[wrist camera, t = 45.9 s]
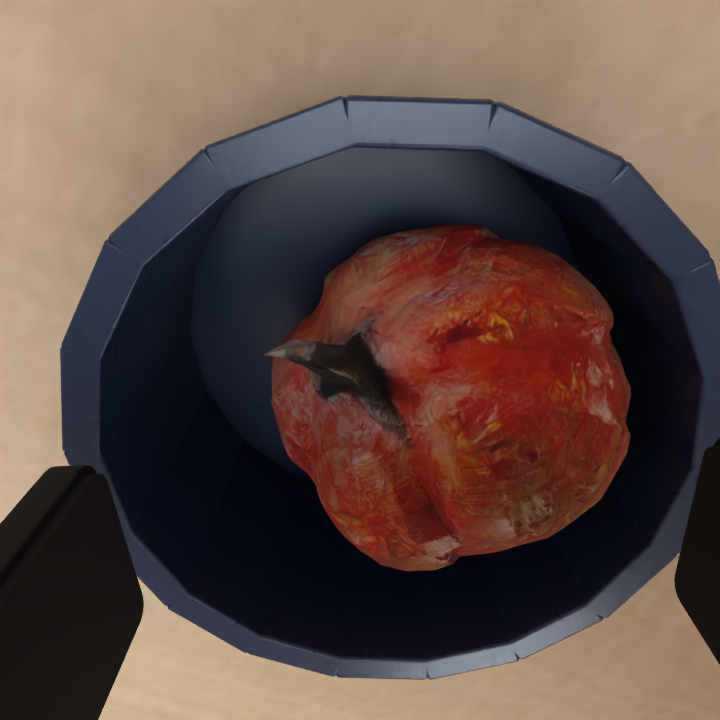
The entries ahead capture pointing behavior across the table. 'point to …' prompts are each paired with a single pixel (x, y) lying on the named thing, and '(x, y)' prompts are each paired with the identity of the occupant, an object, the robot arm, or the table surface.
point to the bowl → (297, 301)
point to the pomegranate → (452, 395)
